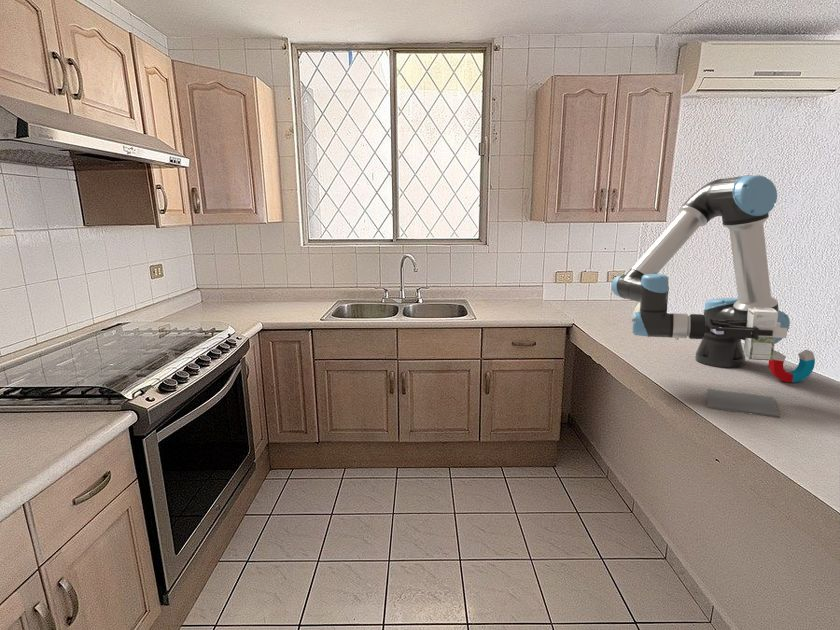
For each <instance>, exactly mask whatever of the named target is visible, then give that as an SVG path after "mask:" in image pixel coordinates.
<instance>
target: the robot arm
mask: <svg viewBox="0 0 840 630" xmlns="http://www.w3.org/2000/svg"><path fill="white" fill-rule="evenodd" d="M777 200H778V190H777V187H776V186H775V184H774V182H773V181H772V180H770V179H769V178H767V177H766V176H764V175H761V174H760V175H759V174H755V175H749V174H747V175H742V176H741V175H739V176H734V177H726V178H718V179H715V180H712V181H709V182H707V184H705V185H703V186H702V187H701V188H699V189H698V190H697V191H695V192H694V193H693V194H692V195H691V196H690V197H689V198H688V199H687V200H686V201H685V202H684V203H683V204H682V205H681V207H680V208H679V209H678V211H679V212H678V214H677V216H675V218H674V220H672V221H671V222H670V224H669V225H668V226H667V227H666V228H665V229H664V231H663V232H661V234H660V235H659V236H658V237H657V239H656V240H655V241H654V242H653V243H652V244H651V245H650V246H649V247H648V249H647V250H646V251H645V252H644V253H643V255H641V257H640V258H639V259H638V260H637V261H636V262H635V264H634V265H633V266H631V268H630V269H629V270H628V271H627V272H626V274H623V275H622V274H620V275H617V276H616V277H615V278H614V279H613V280H612V282H611V286H610V287H611V292H612V293H613V294H614V295H615V296H618V297H619V298H621V299H627V300H631V301H635V302H638V303H639V302H640V312H635V313H634V312H633V313H634V314H632V316H633V322H632V334H634V336H638V337H647V338H668V339H669V338H672V339H675V340H676V341H677V340H680V339H687V338H688V339H690V340H701V341H700V343H699V346H698V347H697V350H696V351H695V355H694V356H695V358H694V359H695V361H697V362H699V363H701V364H703V365H707V366H712V367H717V368H740V367H743V366H745V365H746V360H747V359H746V358H747V357H746V356H745V355H744V346H743V344H742V340H743V341H745V338H753V339H755V340H758V337H774V338H775V343H774V345H776V344H777V343H779V342H780V341H782V340H783V339H787V336H788V332H789V329H790V325H791V321H790V317H789V315H788V314H786V312H784V311H782V310H780V309H779V301H778V300H777V299H775V298H774V297H772V293H771V284H770V283H771V282H770V274H769V266H768V256H767V254H768V253H767V246H766V238H765V237H766V236H765V229H764V224H765V222H766V221H767V220H768V219H769V217H770V215H769V213H770V212H771V211H772V210H773V209H774V207H775V204H776V203H777ZM717 217H721V221H722V226H723V227H725V228H727V229H729V230H728V231H729V235H730V236H729V238H730V245H731V246H730V247H731V252H732V253H731V254H732V260H733V261H732V262H733V269H734V277H735V284H736V293H737V297H724V298H723V297H722V298H721V297H719V298H712V299H708V300H706V301H705V303H704V309H703V313H701V314H699V313H698V314H696V313H691V314H688V313H676V312H675V313H674V312H673V313H668V304H669V303H668V300H669V291H670V286H669V277H668V276H667V275H666V274H664V273H663V274H662V273H660V272H661V270H662V269H663V268H664V267H665V266H666V265H667V264H668V262H669V261H670V260H671V259H672V258H673V257H674V256H675V255H676V253H677V252H679V250H680V249H681V248H682V247H683V246H684V245H685V244H686V243H687V242H688V240H689V239H690V238H691V237H692V235H694V233H695V232H696V231H697V230H698V229H699V228H700V227H705V226H706V225H707V224H708V223H709V222H710V221H711V220H713V219H715V218H717ZM659 273H660V274H659ZM748 308H773V309H775V310H776V311H777V312H778V319H777V327H776V328H775V327H758V328H753V327H746V325H747V315H748Z"/></svg>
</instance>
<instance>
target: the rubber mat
mask: <svg viewBox="0 0 840 630" xmlns="http://www.w3.org/2000/svg"><path fill="white" fill-rule="evenodd" d="M706 389H707V390H706V401H707V404H706V405H707V406H706V407H707V409H714V408H715V409H716V410H721V409H723V410H722V411H728V410H730V412H735V411H737V413H742V412H743V414H749V413H752V414H751V415H756V414H757V416H764V417H772V418H780V414H779V410H778V408H777V406H776V405H777V404H776V402H775V399H774V397H773V396H771V395H770V396H769V395H761V394H751V393H744V392H735V391H728V390H720V389H714V388H713V389H711V388H706Z"/></svg>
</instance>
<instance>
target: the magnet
mask: <svg viewBox="0 0 840 630" xmlns="http://www.w3.org/2000/svg"><path fill="white" fill-rule="evenodd" d="M797 355H798V357H799V359H798V360H799V361H798V364H797V366H796V368H794V369H793V370H791V371H786V370H785V368H784V363H785V360H786V359H787V356H786V355H784V354H783V353H781V352H780V351H777V350H775V349H774V351H773V359H772V361H771V360H768V368H769V371H770V373H771V374H772V376H773V377H775V378H776V379H779V380H780V381H782V382H785V383H789V382H794V383H798V382H802V381H803V380H805V379H807V378H808V377H809V376H810V375H811V374H812V373H813V370H814V369H815V364H816V358H815V354H814V353H813V351H811V350H809V349H804V350H802V351H801V352H799V353H798V354H797Z"/></svg>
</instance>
